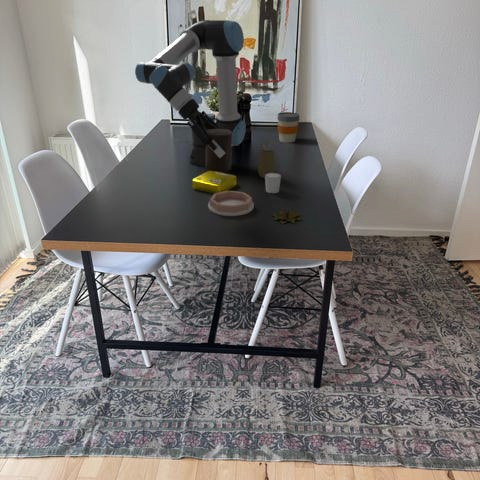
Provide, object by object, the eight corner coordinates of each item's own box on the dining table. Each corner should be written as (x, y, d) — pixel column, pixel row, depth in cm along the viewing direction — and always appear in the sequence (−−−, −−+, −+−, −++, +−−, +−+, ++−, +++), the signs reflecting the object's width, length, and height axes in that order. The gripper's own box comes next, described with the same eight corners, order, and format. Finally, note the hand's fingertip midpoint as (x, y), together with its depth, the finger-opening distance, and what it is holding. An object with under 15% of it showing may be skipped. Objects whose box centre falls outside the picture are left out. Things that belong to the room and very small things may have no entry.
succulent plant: (279, 228, 164) (280, 216, 162) (265, 215, 174) (265, 204, 172) (308, 222, 169) (309, 211, 167) (293, 210, 178) (293, 199, 176)
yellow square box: (238, 185, 202) (238, 174, 200) (220, 196, 191) (219, 185, 188) (209, 179, 209) (209, 168, 207) (190, 189, 197) (190, 178, 195)
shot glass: (282, 189, 197) (283, 173, 194) (278, 194, 192) (278, 178, 188) (266, 187, 199) (267, 171, 196) (262, 192, 194) (262, 176, 190)
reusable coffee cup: (298, 143, 261) (300, 117, 254) (277, 143, 261) (278, 116, 254) (296, 137, 272) (298, 112, 265) (275, 137, 272) (277, 111, 265)
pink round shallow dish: (215, 196, 189) (215, 188, 188) (257, 200, 186) (258, 192, 184) (202, 213, 174) (202, 204, 172) (248, 218, 170) (248, 209, 169)
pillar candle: (221, 173, 166) (222, 132, 159) (200, 168, 171) (199, 128, 164) (236, 167, 173) (237, 127, 166) (215, 162, 178) (215, 123, 171)
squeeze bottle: (273, 180, 207) (275, 141, 199) (255, 178, 208) (256, 139, 200) (275, 174, 214) (277, 136, 206) (258, 172, 215) (259, 135, 207)
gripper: (188, 105, 176) (228, 149, 180) (166, 118, 157) (210, 167, 161) (201, 92, 172) (241, 137, 176) (180, 103, 153) (225, 154, 157)
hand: (226, 151), depth 168 cm, fingers closed on pillar candle, 9 cm apart
